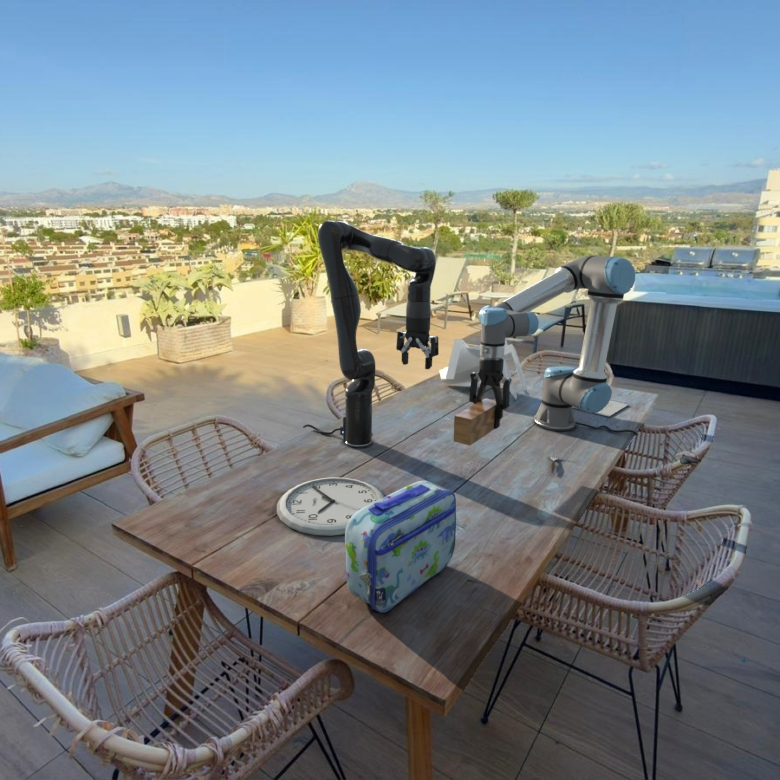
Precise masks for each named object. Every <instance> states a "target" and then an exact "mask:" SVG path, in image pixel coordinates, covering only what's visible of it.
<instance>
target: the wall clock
mask: <svg viewBox="0 0 780 780" xmlns="http://www.w3.org/2000/svg"><path fill="white" fill-rule="evenodd" d="M384 497H386V495H385V494H384V493H383V492H382V491H381V490H380V489H379V488H377V487H376V486H374V485H372V484H371V483H369V482H365V481H362V480H359V479H355V478H349V477H338V476H337V477H335V476H333V477H332V476H331V477H322V478H317V479H312V480H307V481H305V482H302V483H299V484H297V485H295V486H293V487H292V488H290V489H288V490H287V491H286V492H285V493H284V494H283V495H281V496H280V498H279V499H278V502H277V503H276V515H277V517H278V518H279V520H280V521H281V522H282V523H283V524H285V525H286V526H287V527H288V528H290V529H293V530H295V531H297V532H299V533H303V534H308V535H312V536H327V537H328V536H329V537H331V536H332V537H333V536H342V535H345V531H346V527H347V524H348V522H349V520H350V518H351V517H352V515H353V514H354V513H355V512H357V511H358V510H360V509H362V508H364V507H366V506H368V505H370V504H372V503H374V502H376V501H378V500H380V499H382V498H384Z"/></svg>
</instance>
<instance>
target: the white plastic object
mask: <svg viewBox="0 0 780 780" xmlns="http://www.w3.org/2000/svg"><path fill="white" fill-rule="evenodd" d="M480 346H481V344H479V345H473V346H469V345H468V343H466V342H465V340H464V339H463V338H460V339H458V338H454V340H453V344H452V349H451V353H450V357H449V362H448V366H446V367H444V368H442V369H440V370H439V371H438V372H439V376H440V381H442V383H443V384H444V385H445V386H449V385H458V384H467V383H468V384H469V383H471V377H470V374H471V373H474V372H479V370H480V368H479V363H480V358H481V356H480ZM503 359H504V363H503V374H504V377H506V378H508V379H509V378H511V380H512V381H511V383H510V394H511V395H512V397H513V398H514V399H515V400H517V392H516V391H517V390H516V388H515V385H514V381H513V378H512V375H511V371H510V369H509V365H508V361H510V360H513V363H514V366H515V369H516V372H517V376H518V380H519V382H520V385H521V389H522V391H523V393H524V395H525V396H526V397H528V396H531V395H530V390H529V388H528V387H529V386H528V384H527V381H526V378H525V375H524V371H523V369H522V368H523V367H522V366H521V362H520V359H519V355H518V352H517V349H516V347H515V346H514V345H513V343H511V344H508V341H507V338H505V348H504V357H503ZM478 383H481V379H480V377H479V378H478Z"/></svg>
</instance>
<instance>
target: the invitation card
mask: <svg viewBox="0 0 780 780" xmlns="http://www.w3.org/2000/svg"><path fill="white" fill-rule="evenodd" d="M628 406H629V404H627V403H623V402H618V401H614V400H610V401H609V403H608V404H607V405H606V407H604V408H603V409H602V410H601V411H599V412H597V413H595V414H596V415H600V416H604V417H608V418H609V417H611V416H613V415H614V414H616V413H617V412H619V411H621V410H623V409H624V408H626V407H628ZM573 409H575V410H579V409H578V408H576V407H573Z"/></svg>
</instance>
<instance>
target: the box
mask: <svg viewBox="0 0 780 780" xmlns="http://www.w3.org/2000/svg"><path fill="white" fill-rule="evenodd" d="M495 409H497V405H496V400H495V399H492V398H486V397H485V398H482V400H481V401H480V402H478V403H476V404H474V403H473V404H472V405H471V406H469V407H467V408H466V409H464V410H462V411H460V412H458V413H457V414H455V415H454V416H453V419H454V421H453V439H452V440H453V442H454V443H459V444H462V445H465V446H469V447H470V446H472V445H473V444H475V443H476V442H478V441H479V440H481V439H482V438H484V437H486V435H488V434H490V433H491V432H492V431H494V430H495V429H494V416H495Z"/></svg>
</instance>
